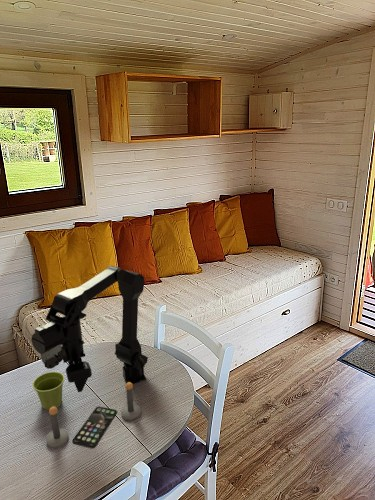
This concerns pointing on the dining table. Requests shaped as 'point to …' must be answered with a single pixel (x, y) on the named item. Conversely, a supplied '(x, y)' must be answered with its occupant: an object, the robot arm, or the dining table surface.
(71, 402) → the dining table surface
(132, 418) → the stand inner
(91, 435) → the smartphone
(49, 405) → the plant pot
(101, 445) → the dining table surface
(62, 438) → the stand
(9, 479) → the dining table surface
